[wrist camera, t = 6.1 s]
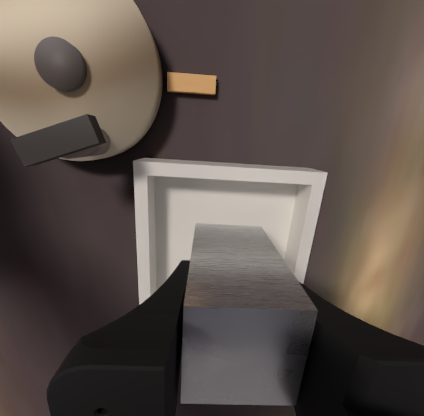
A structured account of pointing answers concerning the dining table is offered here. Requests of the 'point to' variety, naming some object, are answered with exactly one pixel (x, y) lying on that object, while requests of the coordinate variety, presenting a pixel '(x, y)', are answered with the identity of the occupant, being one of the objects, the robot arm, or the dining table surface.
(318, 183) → the tray
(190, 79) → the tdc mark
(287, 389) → the block
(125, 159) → the dining table surface
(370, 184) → the dining table surface
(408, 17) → the dining table surface
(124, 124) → the crank
